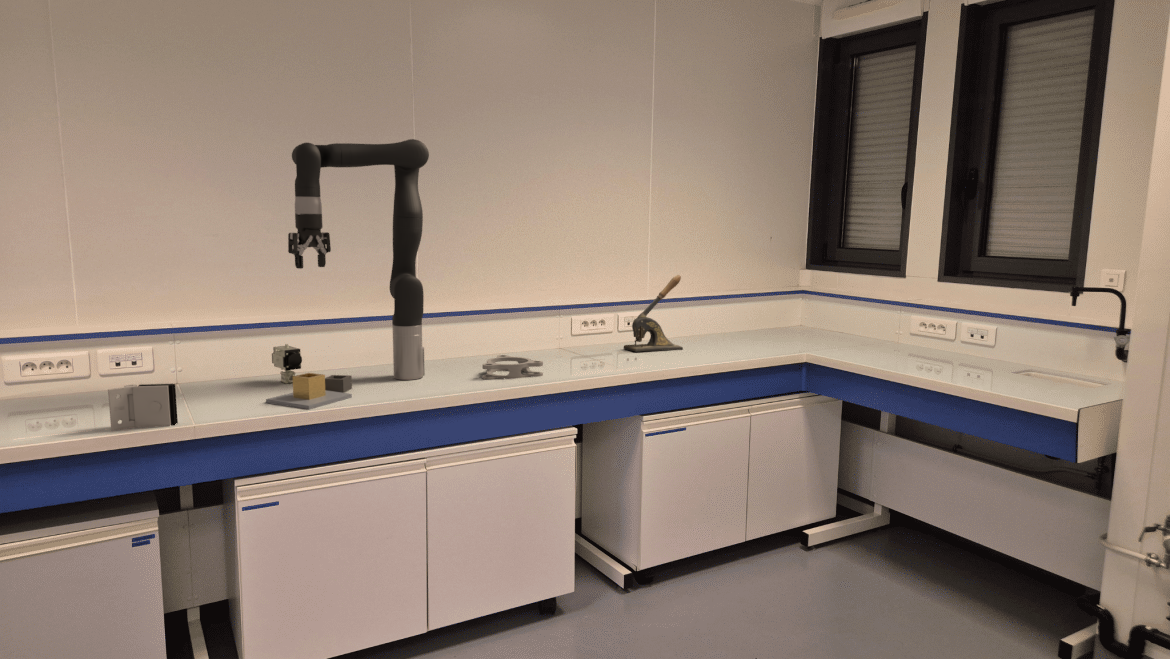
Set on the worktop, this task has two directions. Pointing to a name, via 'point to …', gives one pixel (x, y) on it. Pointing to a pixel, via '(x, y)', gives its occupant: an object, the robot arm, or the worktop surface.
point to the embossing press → (652, 326)
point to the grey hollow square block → (338, 383)
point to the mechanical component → (511, 367)
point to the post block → (309, 404)
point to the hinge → (143, 406)
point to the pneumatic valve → (287, 361)
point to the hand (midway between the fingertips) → (310, 267)
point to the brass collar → (309, 386)
